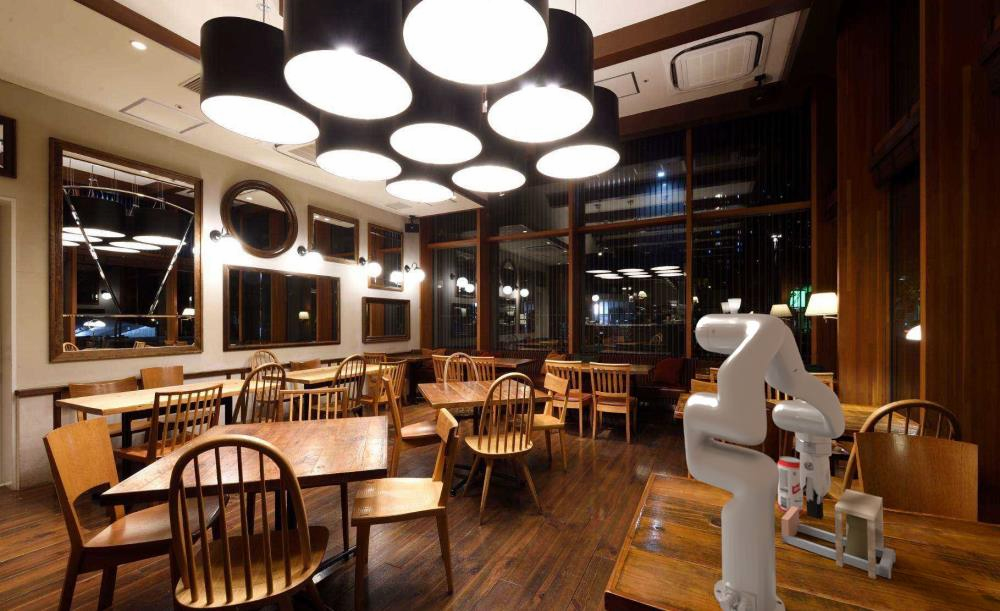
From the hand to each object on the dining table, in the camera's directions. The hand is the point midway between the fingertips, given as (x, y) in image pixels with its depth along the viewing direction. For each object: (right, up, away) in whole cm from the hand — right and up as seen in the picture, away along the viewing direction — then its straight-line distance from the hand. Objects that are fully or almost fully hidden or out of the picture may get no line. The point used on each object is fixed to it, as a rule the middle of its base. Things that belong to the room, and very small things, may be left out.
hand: (815, 516), depth 108 cm
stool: (+6, -7, -7) cm, 11 cm away
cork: (+6, -7, -7) cm, 11 cm away
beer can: (+6, -8, +17) cm, 19 cm away
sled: (+2, -7, -4) cm, 8 cm away
